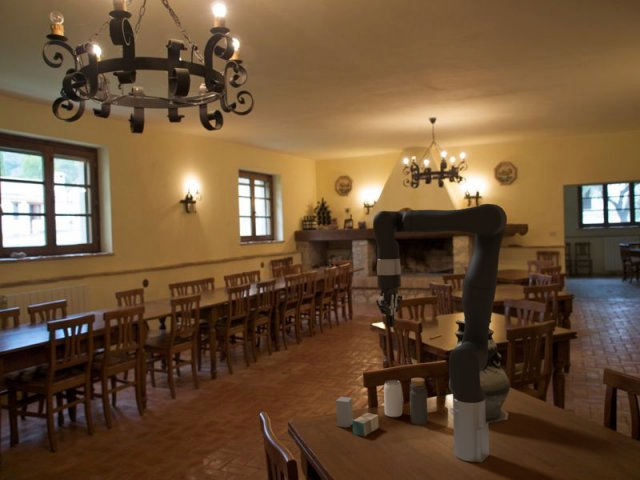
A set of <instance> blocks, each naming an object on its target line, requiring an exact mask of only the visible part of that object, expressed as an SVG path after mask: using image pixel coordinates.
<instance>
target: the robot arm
mask: <svg viewBox="0 0 640 480" xmlns="http://www.w3.org/2000/svg"><path fill="white" fill-rule="evenodd" d="M507 217H508V216H507V214H506V211H505V210H504V208H502V207H501V206H499V205H498V204H495V203H494V204H493V203H483V204H480V205H475V206H471V207H466V208H461V209H447V210H445V209H443V210H442V209H413V210H406V211H401V210H400V211H398V210H397V211H396V210H393V211H391V210H381V211H379V212H377V213H376V214H375V215H374V217H373V219H372V220H373V221H372V229H373V234H374V239H375V243H376V246H377V248H376V250H377V251H376V253H377V254H376V255H377V257H376V258H377V262H376V263H377V264H376V277H377V278H376V280H377V281H376V282H377V288H378V289H380V294H379V295H380V297H379V299H376V300H375V303H376V306H377V307H378V308H379V311H380V313H381V314H382V315H385V326H386V327H387V328H394V327H395V315H396V314H397V313H398V312H399V310H400V307H401V303H402V300H403V295H400V294H399V289H400V288H401V287H402V273H401V269H402V268H401V261H400V259H401V258H400V245H399V242H398V241H397V240H396V238H395V233H415V234H416V233H419V234H420V233H438V232H461V233H469V234H475V239H474V248H473V252H472V254H471V255H472V256H471V259H470V261H469V264H468V266H467V268H466V271H465V274H464V279H463V286H462V290H461V291H462V292H461V305H462V312H463V319H465V329H464V335H463V339H462V343H461V345H460V346H458V347H456V348H455V347H454V348H453V349H452V351H451V352H450V353H449V357H448V372H449V374H448V375H449V379H450V386H451V389H452V391H451V393H452V392H453V394H452V403H453V404H452V406H453V407H452V408H453V442H454V446H453V448H454V450H453V451H454V455H455V457H456V458H458V459H460V460H462V461H466V462H478V463H483V462H484V461H485V460H486V459H487V458H488V457H489V456H490V440H489V439H490V434H489V423H486V415H485V391H484V389H483V388H482V387H481V385H480V371H481V370H483V369H484V367H485V366H486V364H487V359H488V334H489V329H490V326H491V323H490V321H491V322H492V315H493V309H494V303H495V298H496V291H497V284H498V275H499V273H498V272H499V271H498V270H499V259H500V258H499V257H500V252H501V245H502V242H503V237H504V234H505V230H506V227H507V223H508V221H507V220H508V218H507Z"/></svg>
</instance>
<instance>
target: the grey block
mask: <svg viewBox="0 0 640 480" xmlns="http://www.w3.org/2000/svg"><path fill="white" fill-rule="evenodd" d="M335 403H336V404H335V405H336V427H342V428H347V427H349V428H351V426H353V420H354V409H353V408H354V407H353V405H354V404H353V397H346V396H339V397H338V398H337V399H336V400H335Z"/></svg>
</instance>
